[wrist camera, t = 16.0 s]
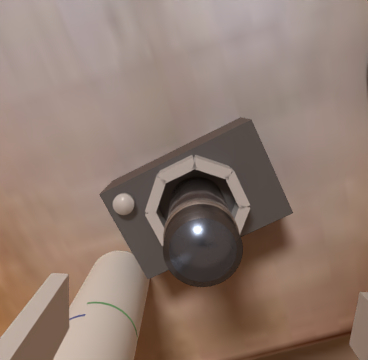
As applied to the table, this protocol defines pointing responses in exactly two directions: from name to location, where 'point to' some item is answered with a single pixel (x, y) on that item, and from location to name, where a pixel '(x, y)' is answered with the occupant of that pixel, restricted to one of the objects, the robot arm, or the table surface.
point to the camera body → (197, 167)
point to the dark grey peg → (200, 234)
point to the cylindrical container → (107, 311)
